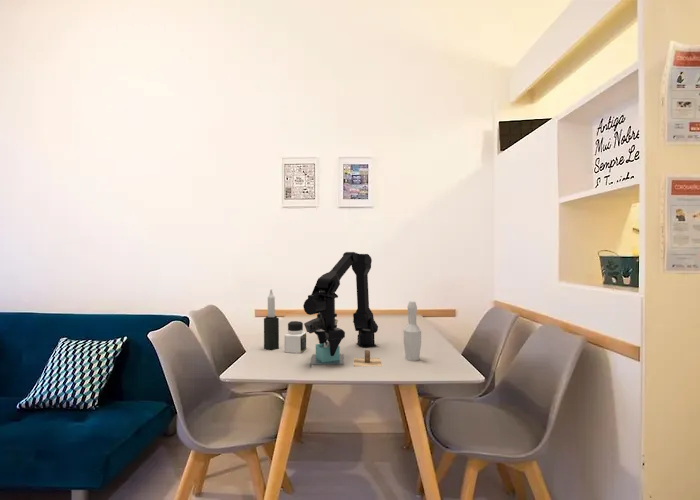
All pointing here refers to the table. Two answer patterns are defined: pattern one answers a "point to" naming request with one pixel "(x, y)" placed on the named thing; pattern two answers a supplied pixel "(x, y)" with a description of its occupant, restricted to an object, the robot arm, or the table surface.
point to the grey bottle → (412, 334)
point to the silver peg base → (317, 362)
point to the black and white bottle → (271, 326)
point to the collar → (326, 353)
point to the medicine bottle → (295, 338)
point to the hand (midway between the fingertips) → (327, 352)
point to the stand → (367, 360)
